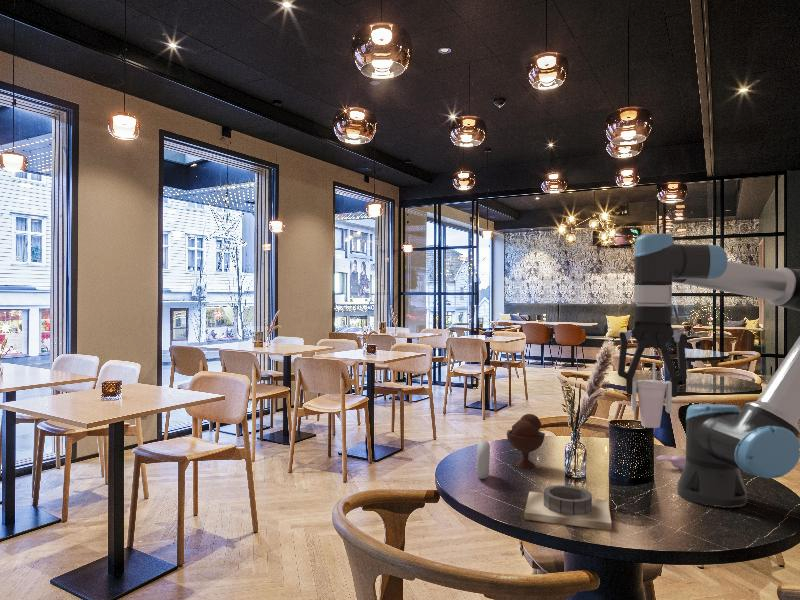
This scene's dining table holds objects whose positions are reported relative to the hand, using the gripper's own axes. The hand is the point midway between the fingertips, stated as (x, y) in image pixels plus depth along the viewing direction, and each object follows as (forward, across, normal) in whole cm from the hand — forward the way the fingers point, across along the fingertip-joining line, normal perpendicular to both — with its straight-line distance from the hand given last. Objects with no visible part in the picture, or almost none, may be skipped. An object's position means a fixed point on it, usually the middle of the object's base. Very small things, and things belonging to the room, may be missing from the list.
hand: (650, 410), depth 124 cm
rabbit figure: (+25, -14, -44) cm, 53 cm away
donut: (+25, +39, -18) cm, 50 cm away
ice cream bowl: (+25, +29, -33) cm, 51 cm away
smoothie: (+4, 0, 0) cm, 4 cm away
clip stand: (+25, +17, 0) cm, 30 cm away
